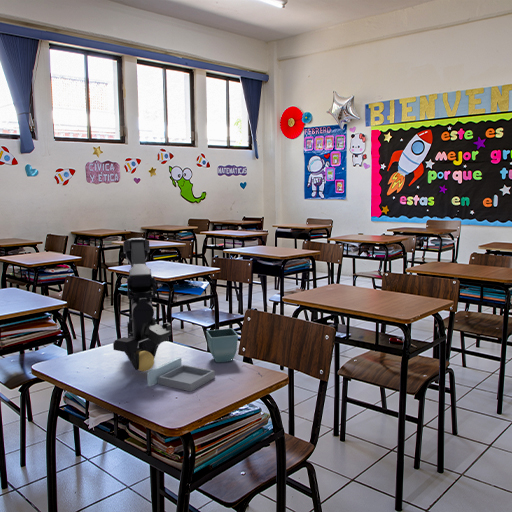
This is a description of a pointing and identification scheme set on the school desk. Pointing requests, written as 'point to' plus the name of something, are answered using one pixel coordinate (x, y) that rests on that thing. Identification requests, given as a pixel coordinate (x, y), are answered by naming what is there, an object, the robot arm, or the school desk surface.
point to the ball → (145, 361)
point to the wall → (162, 370)
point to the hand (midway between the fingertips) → (144, 366)
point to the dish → (186, 377)
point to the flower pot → (222, 344)
